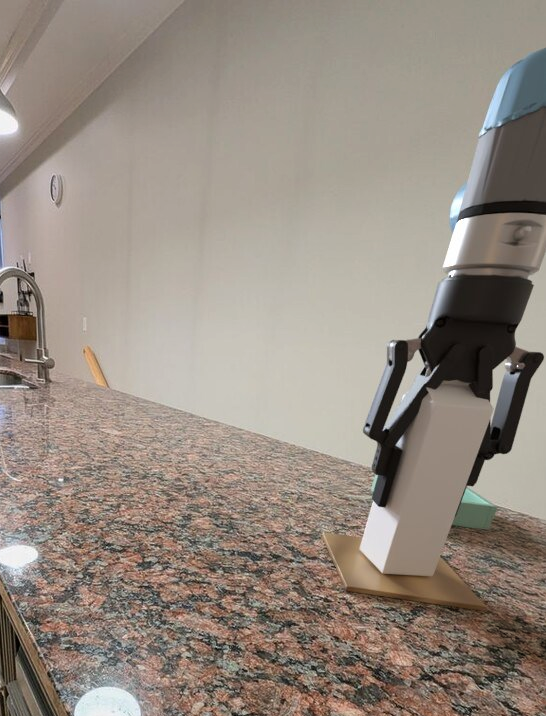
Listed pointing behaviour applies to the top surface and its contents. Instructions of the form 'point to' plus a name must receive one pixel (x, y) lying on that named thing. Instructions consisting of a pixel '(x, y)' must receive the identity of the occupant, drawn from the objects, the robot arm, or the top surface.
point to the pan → (470, 510)
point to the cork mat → (397, 578)
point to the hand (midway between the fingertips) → (412, 506)
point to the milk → (427, 481)
